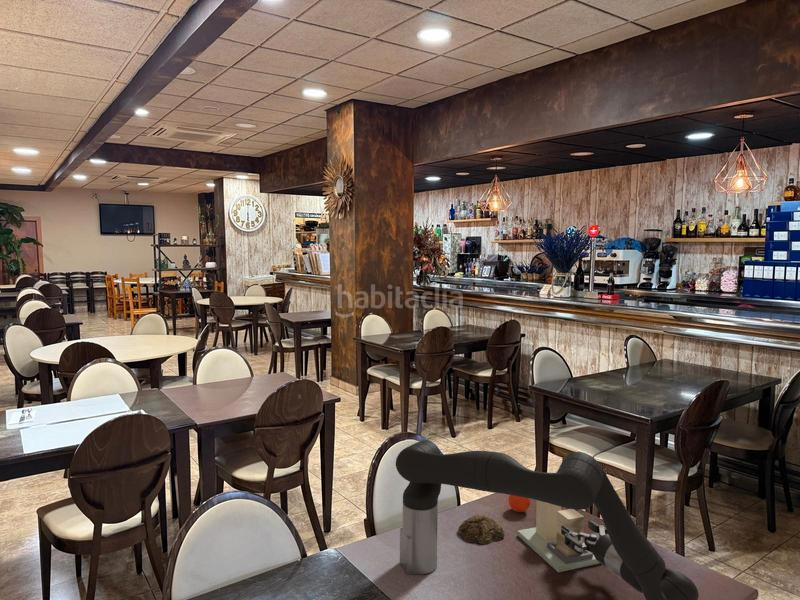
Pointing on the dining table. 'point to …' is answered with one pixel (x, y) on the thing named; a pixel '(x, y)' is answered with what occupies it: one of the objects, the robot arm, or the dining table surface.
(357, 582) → the dining table surface
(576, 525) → the maple pillar
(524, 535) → the baseplate
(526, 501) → the clementine
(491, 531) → the bread roll
